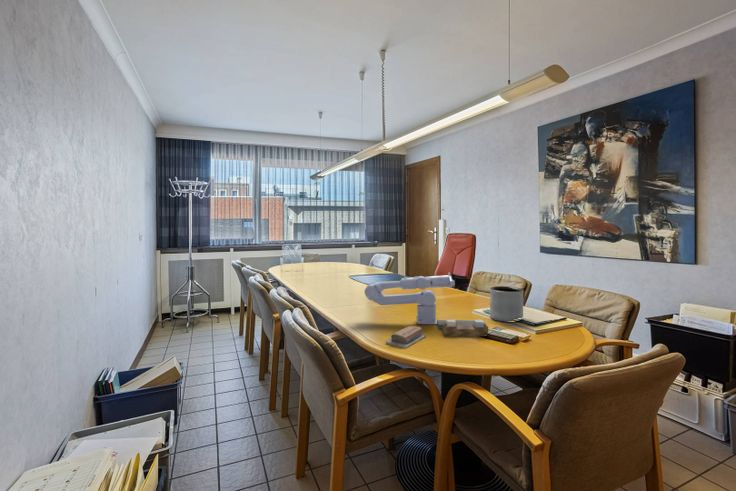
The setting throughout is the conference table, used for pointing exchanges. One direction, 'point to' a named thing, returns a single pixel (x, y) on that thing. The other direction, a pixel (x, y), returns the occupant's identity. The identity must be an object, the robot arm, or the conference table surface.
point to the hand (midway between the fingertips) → (468, 279)
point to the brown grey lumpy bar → (464, 330)
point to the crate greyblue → (478, 323)
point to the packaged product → (406, 337)
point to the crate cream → (450, 323)
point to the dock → (458, 322)
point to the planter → (506, 303)
